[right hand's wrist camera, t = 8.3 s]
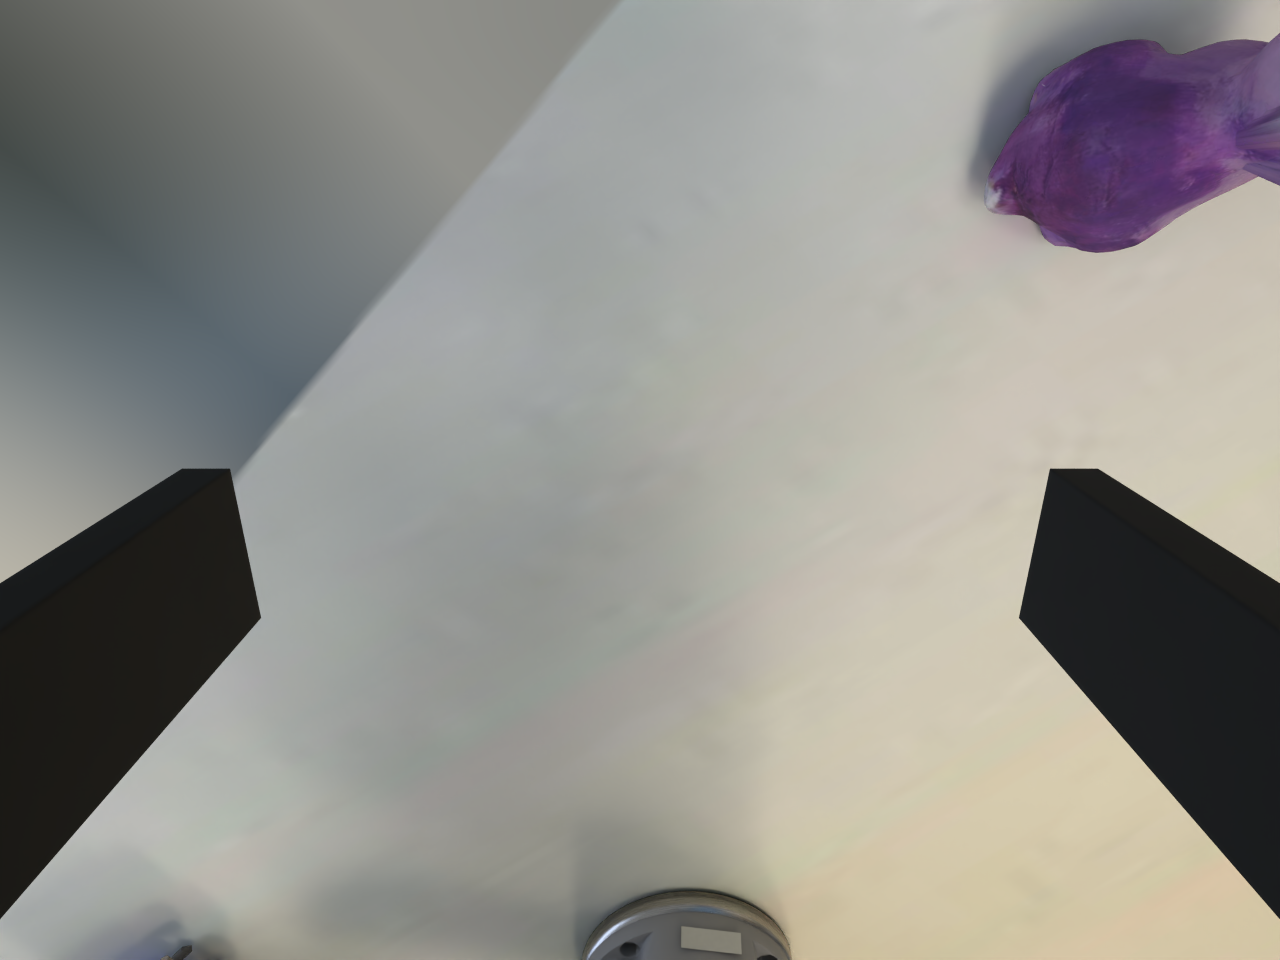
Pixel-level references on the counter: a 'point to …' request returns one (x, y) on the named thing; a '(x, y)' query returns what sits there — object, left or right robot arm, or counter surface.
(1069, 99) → the figurine
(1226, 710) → the right robot arm
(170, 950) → the counter surface
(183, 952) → the figurine character
